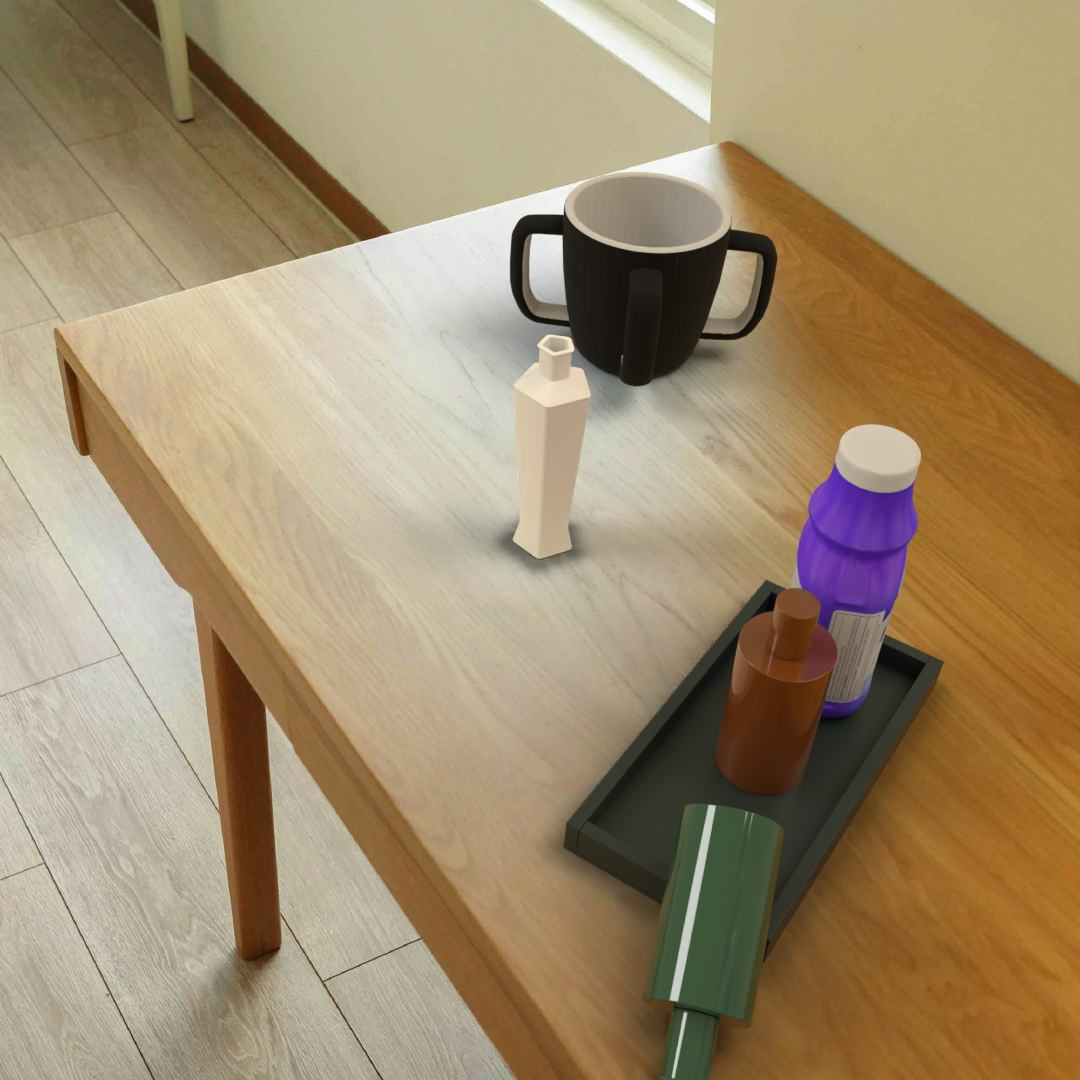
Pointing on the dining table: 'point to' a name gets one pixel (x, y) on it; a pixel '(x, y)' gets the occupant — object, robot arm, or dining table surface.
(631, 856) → the tray
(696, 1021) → the green bottle
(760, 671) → the middle bottle
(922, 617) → the dining table surface
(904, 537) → the bottle
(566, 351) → the perfume bottle
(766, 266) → the mug
